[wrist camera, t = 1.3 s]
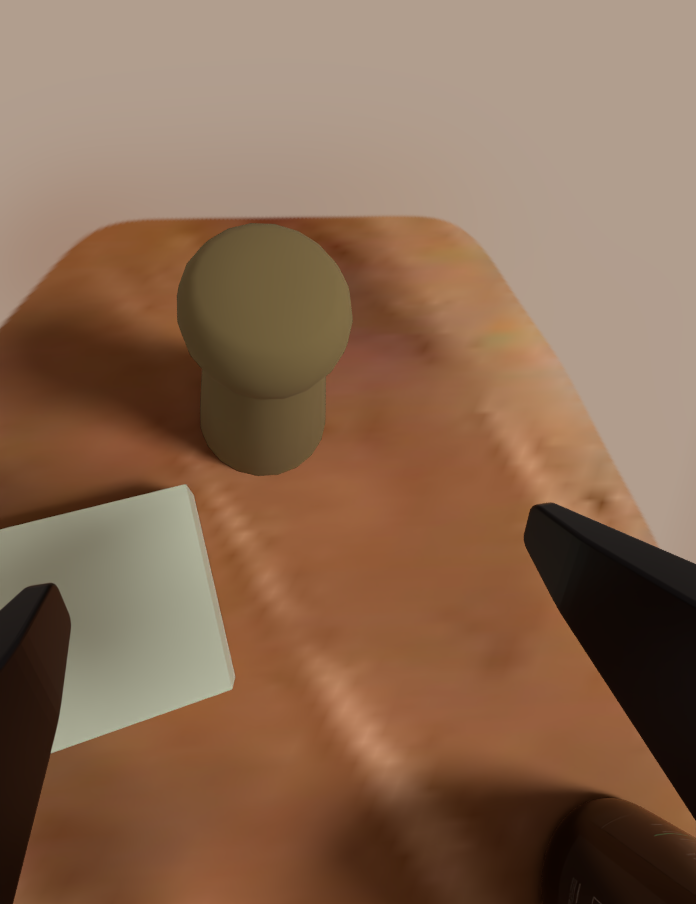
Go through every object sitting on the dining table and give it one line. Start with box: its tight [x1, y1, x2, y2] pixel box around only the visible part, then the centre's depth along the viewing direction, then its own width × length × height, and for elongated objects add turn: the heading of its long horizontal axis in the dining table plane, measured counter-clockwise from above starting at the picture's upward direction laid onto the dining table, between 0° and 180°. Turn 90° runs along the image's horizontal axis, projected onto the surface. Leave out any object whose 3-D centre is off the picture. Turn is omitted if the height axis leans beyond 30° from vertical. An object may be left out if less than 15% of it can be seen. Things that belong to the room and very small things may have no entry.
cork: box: [177, 223, 353, 476], centre depth 18 cm, size 6×6×11 cm
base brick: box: [0, 484, 235, 753], centre depth 19 cm, size 8×8×2 cm
